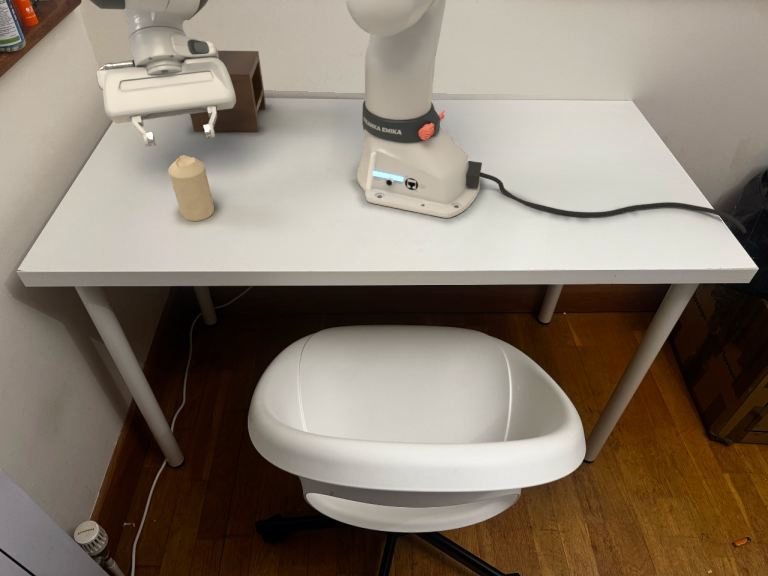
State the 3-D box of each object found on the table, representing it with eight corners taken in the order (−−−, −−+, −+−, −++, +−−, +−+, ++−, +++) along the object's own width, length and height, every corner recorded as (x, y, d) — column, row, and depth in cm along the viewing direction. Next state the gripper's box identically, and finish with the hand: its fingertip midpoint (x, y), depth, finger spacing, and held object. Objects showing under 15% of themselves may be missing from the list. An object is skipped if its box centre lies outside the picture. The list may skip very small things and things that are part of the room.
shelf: (266, 106, 122) (258, 50, 114) (258, 132, 114) (249, 74, 106) (205, 105, 122) (193, 49, 114) (194, 131, 114) (179, 73, 106)
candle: (178, 206, 96) (163, 155, 89) (210, 198, 98) (198, 147, 91) (184, 224, 93) (169, 172, 86) (218, 216, 94) (205, 165, 87)
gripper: (88, 56, 86) (108, 145, 86) (224, 41, 91) (243, 126, 91) (98, 72, 92) (117, 155, 92) (225, 58, 97) (243, 137, 97)
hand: (180, 141), depth 92 cm, fingers open, 8 cm apart
